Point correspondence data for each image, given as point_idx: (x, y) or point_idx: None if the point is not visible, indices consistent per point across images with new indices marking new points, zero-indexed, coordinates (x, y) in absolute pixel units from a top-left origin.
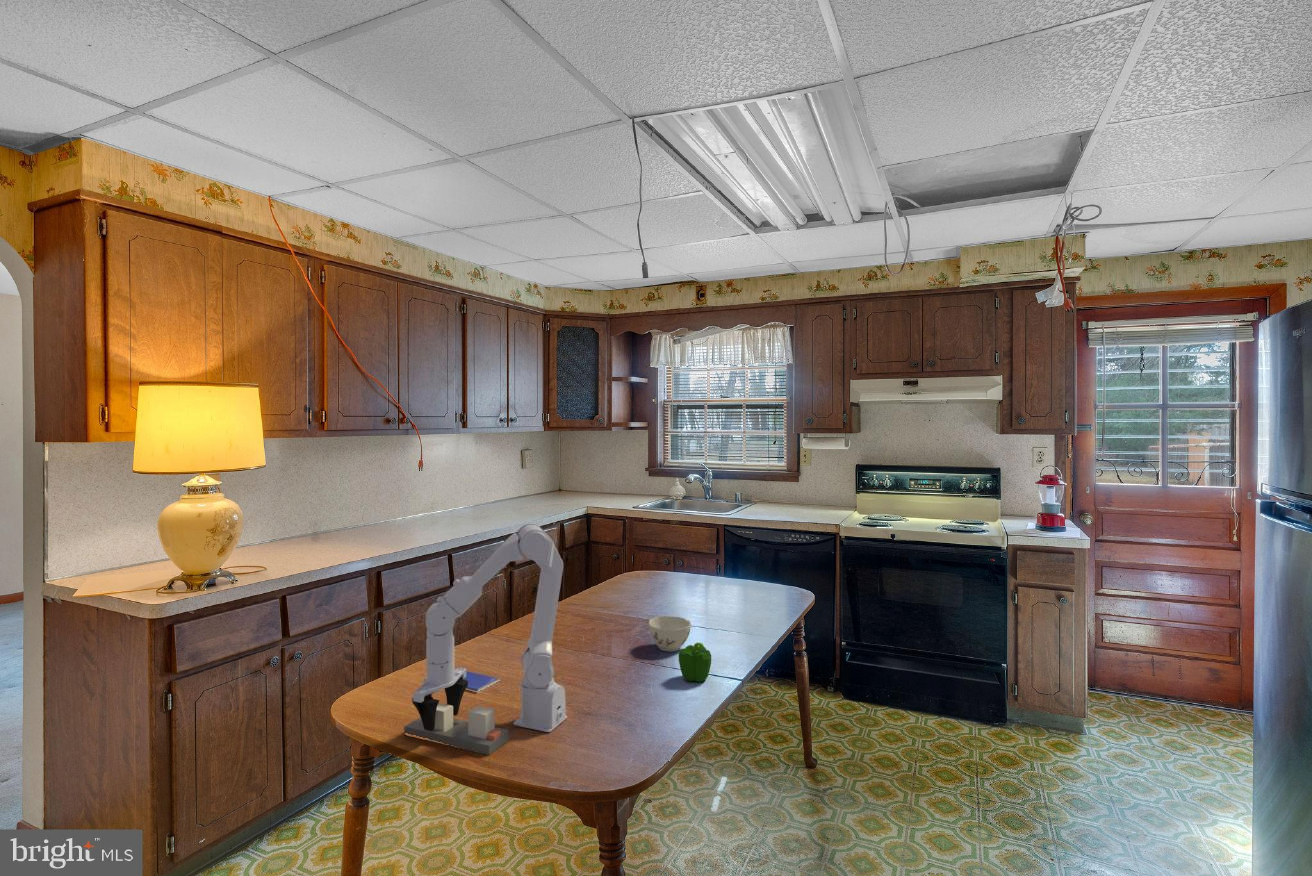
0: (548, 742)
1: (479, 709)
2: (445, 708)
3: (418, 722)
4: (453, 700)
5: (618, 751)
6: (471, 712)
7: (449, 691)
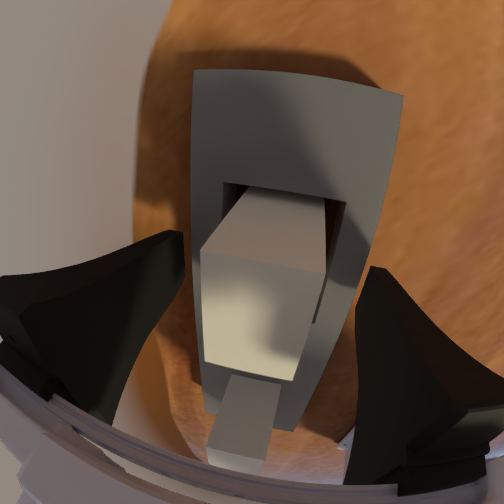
0: (300, 445)
1: (237, 462)
2: (243, 360)
3: (266, 113)
4: (373, 360)
5: (292, 477)
6: (206, 450)
7: (397, 389)
